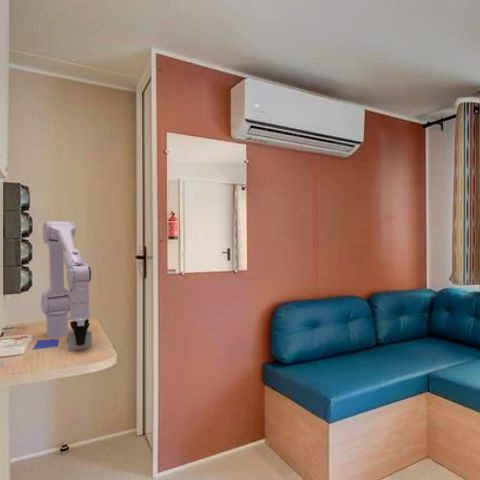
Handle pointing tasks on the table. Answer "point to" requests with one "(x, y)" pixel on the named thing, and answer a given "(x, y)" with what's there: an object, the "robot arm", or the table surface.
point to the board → (73, 345)
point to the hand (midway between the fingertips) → (80, 343)
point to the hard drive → (46, 344)
